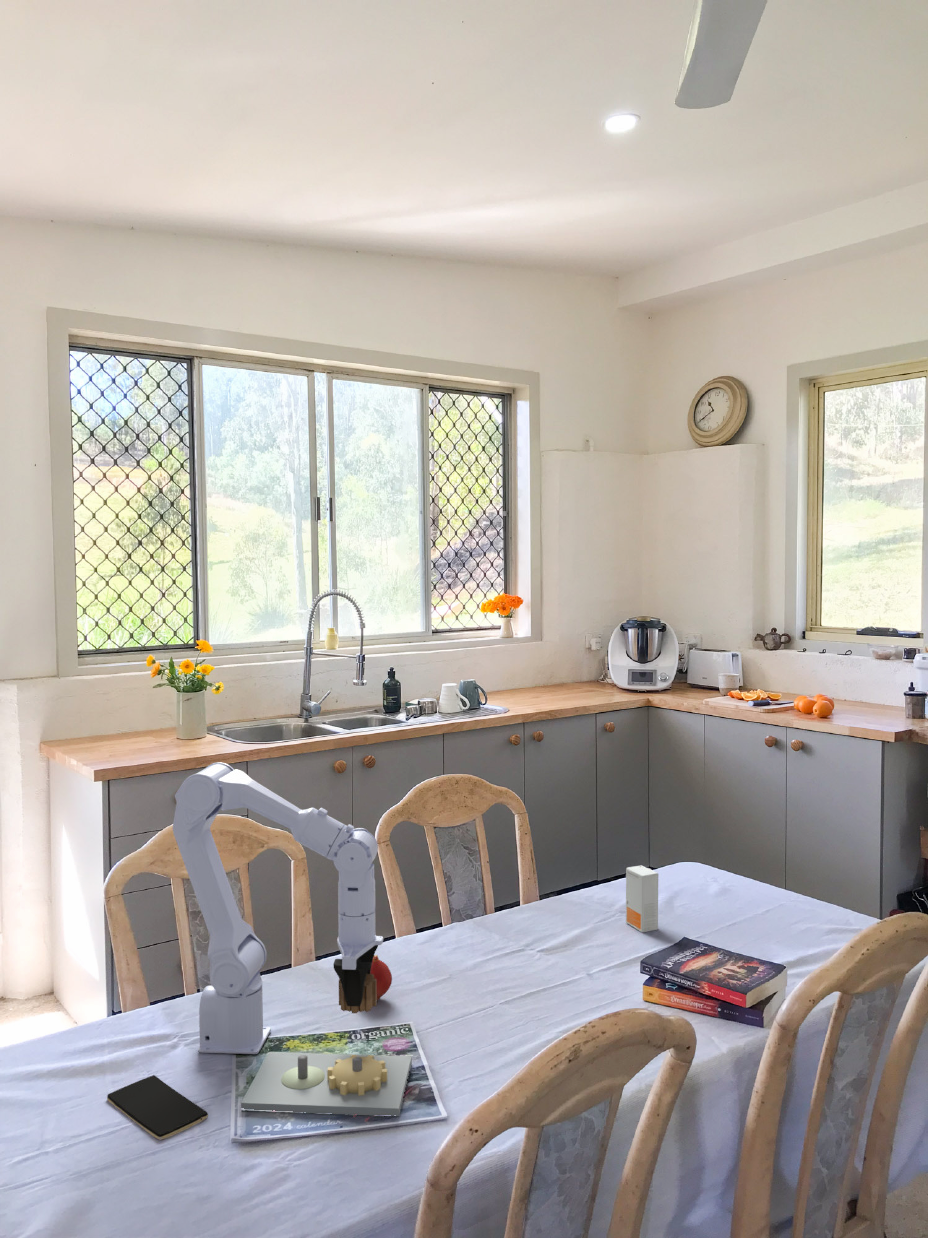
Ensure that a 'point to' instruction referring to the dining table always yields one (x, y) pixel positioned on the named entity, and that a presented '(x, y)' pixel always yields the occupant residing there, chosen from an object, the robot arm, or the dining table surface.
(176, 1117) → the smartphone
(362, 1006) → the walnut gear
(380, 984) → the onion
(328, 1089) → the gear board
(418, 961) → the dining table surface
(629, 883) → the skincare box
